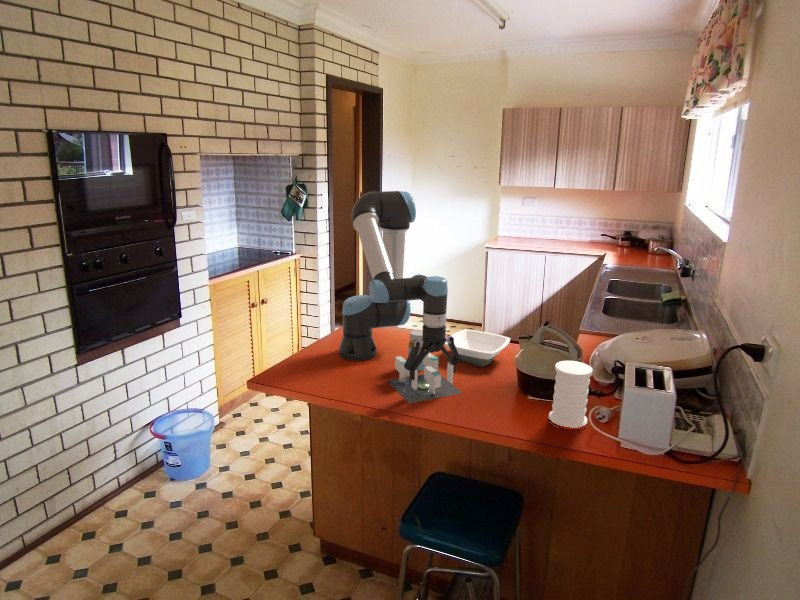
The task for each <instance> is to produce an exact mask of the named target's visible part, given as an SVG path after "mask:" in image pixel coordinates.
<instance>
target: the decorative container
mask: <svg viewBox="0 0 800 600" xmlns="http://www.w3.org/2000/svg"><path fill="white" fill-rule="evenodd" d="M593 370H594V369H593V367H592V366H590V365H588V364H586V363H584V362H580V361H577V360H561V361H560V360H559V361H558V362H556V363H555V366H554V371H555V372H556V374H555V376H554V379H555V380H554V381H555V383H554V385H553V386H554V387H553V388H554V389H553V390H554V393H553V396H552V398H553V403H552V404H551V406H552V407H551V408H552V410H551V411H549V413H548V420H549V419H550V420H551V421H552V422H553V423H555V424H557V425H560V426H564V427H570V428H578V427H582V426H585V425H586V424H587V425H588V422H589V421H588V417H587V416H586V413H587V404H588V395H589V393H590V392H589V386H590V383H591V381H590V380H591V379H590V378H591V376H593V372H594V371H593ZM587 421H588V422H587Z"/></svg>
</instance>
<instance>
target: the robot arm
mask: <svg viewBox="0 0 800 600" xmlns="http://www.w3.org/2000/svg"><path fill="white" fill-rule="evenodd" d="M416 208H417V207H416V204H415V201H414V198H413V195H412V194H411V193H410V192H408V191H401V190H389V191H387V190H386V191H368V192H365V193H364V194H362V195H360V196H359V198H358V199H357V200H356V201H355V203H354V204H353V207H352V210H351V216H350V218H351V224H352V226H353V229H354V231H356V232H357V233H358V236H359V240H360V243H361V246H362V249H363V253H364V255H365V259H366V263H367V267H368V269H369V272H370V275H371V278H372V280H371V281H370V282H369V283H368V284H369V285H368V293H369V295H367V294H359V295H354V296H351V297H348V298H346V299H345V300H344V301H343V303H342V311H341V314H342V338H341V341H340V344H339V347H338V356H339V357H340V358H342V359H344V360H347V361H353V362H354V361H355V362H356V361H357V362H358V361H367V360H370V359H373V358H375V357H376V355H377V346H376V343H375V340H374V337H373V329H379V328H390V327H393V328H394V327H395V328H396V327H398V326H404V325H406V324H407V323H408V321H409V319H410V316H411V310H412V309H411V302H410V301H417V300H418V301H419V300H420V301H422V302H423V305H422V306H423V307H422V308H423V310H422V324H423V325H422V330H423V339H422V341H417V340H414V342H413V347H412V350H411V352H410V354H409V353H408V355H409V356H408V357H407V359H406V363H405V365H404V368H406V369H407V370H408V371H409V370H410V373H409V374H410V375H409V376H408V377H409V378H410V379H411V380H412V384H411V387H412V388H413V389H414V390H417V375H418V372H419V371H417V370H416V369H417V367H418V366H419V365H420V363H421V362H422V360H423V359H424V358H425V356H426V355H428V354H429V352H430V353H431V354H434V353H438V352H441V353H442V354H443V355H444V356H445V358H446V359H447V360H448V361H449V362H447V369H446V370H447V371H446V372H447V373H446V380H447V381H448V382H450V383H451V384H453V383H454V381H453V380H454V373H455V372H456V366H457V365H458V363H460V362H461V361H462V360H461V358H460V356H459V354H458V351H457V349H456V347H455V344H454V338H453V337H452V336H451V335H449V334H448V335H447V334H446V332H447V331H446V330H447V326H446V324H447V305H448V292H449V289H448V280H447V279H446V278H445V277H444V276H436V275H431V276H427V275H424V274H414V275H413V276H411V277H404V265H405V263H404V261H405V247H406V246H405V244H406V243H405V242H406V241H405V240H406V232H407V231H408V230H409V229H410V224H411V223H413V222H415V220H416V217H417V210H416ZM381 231H382V233H381ZM446 335H447V336H446ZM445 342H447V343H448V345H449V347H450V349H449V351H450V352H451V354H450V353H449V351H448V350H447V348H446V347H445ZM421 345H423V347H422V348H421ZM419 348H421V350H420V352H419V354H418V351H419ZM425 349H426V351H425ZM417 354H418V355H417Z"/></svg>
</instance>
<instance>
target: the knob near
mask: <svg viewBox="0 0 800 600" xmlns="http://www.w3.org/2000/svg"><path fill="white" fill-rule="evenodd" d="M406 361H407V359H405V358H404V357H403V356H402V355H399V356H395V357H394V369H395V370H396V371H398V373H399V378H398V379H399V382H400V383H404V382H405V377H409V375H410V374H409V373H410V370H409V371H408V370H407V369H406V368H404V365H405V363H406Z"/></svg>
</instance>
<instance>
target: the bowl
mask: <svg viewBox="0 0 800 600" xmlns="http://www.w3.org/2000/svg"><path fill="white" fill-rule="evenodd" d="M450 336H452V337H453V338H454V344H455V347H456V349H457V351H458V354H459V356H460V358H461V361H462V362H466V363H468V364H469V365H470V366H474V367H475V366H476V367H481V368H484V367H487V366H489V364H491V362H492V361H494V359H495V358H496V357H497V356H498V355H499V354H500V353H501V352H502V351H503V350H504V349H505V348H506V347H507V346H508V345H509V344H510V342H511V337H508V336H505V335H501V334H496V333H493V332H486V331H480V330H475V329H466V328H465V329H461V330H459V331H456V332H455V333H453V334H451V335H450ZM444 346H446V347H447V348H448V349H449V350H450V347H449V345H448V343H447V342H445V344H444Z"/></svg>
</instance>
